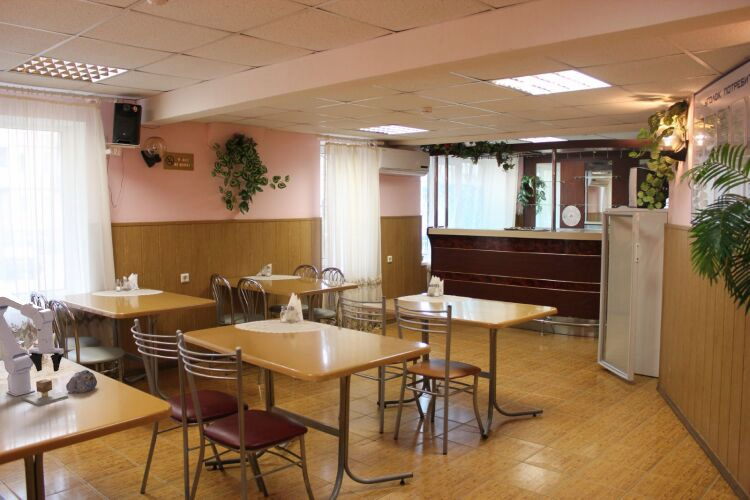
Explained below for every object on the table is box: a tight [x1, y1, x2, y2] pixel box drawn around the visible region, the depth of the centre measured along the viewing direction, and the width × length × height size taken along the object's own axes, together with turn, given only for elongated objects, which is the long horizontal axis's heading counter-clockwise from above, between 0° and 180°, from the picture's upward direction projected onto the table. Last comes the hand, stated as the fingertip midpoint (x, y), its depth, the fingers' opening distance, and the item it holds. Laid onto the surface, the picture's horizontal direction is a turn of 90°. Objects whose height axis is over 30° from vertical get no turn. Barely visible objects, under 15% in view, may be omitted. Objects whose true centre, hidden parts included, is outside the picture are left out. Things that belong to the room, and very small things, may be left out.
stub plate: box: [21, 389, 69, 407], centre depth 256 cm, size 14×12×3 cm
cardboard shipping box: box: [35, 378, 53, 393], centre depth 255 cm, size 4×4×4 cm
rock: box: [65, 369, 98, 394], centre depth 266 cm, size 11×10×10 cm
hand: (47, 370), depth 259 cm, fingers open, 7 cm apart
